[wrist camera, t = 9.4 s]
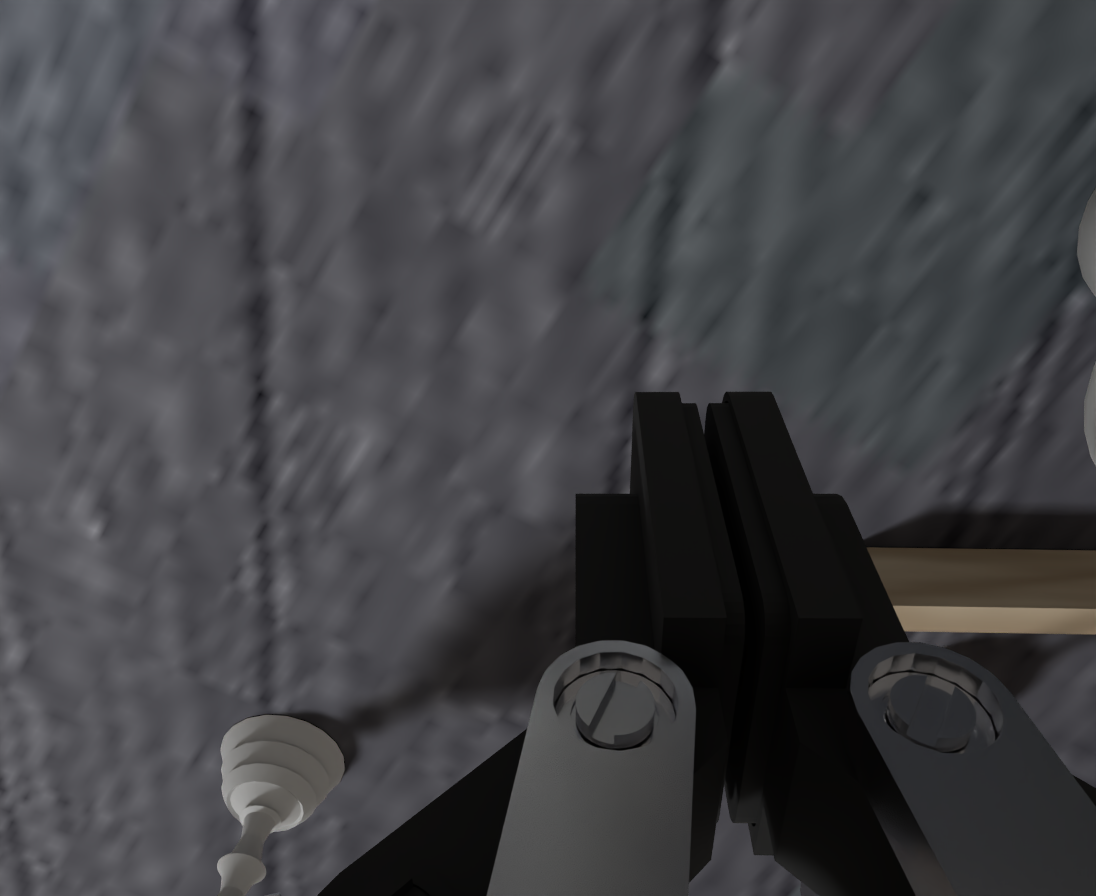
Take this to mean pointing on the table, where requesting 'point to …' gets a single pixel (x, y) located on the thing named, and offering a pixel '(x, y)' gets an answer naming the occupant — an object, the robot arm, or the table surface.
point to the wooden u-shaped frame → (990, 589)
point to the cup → (1092, 259)
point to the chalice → (271, 787)
